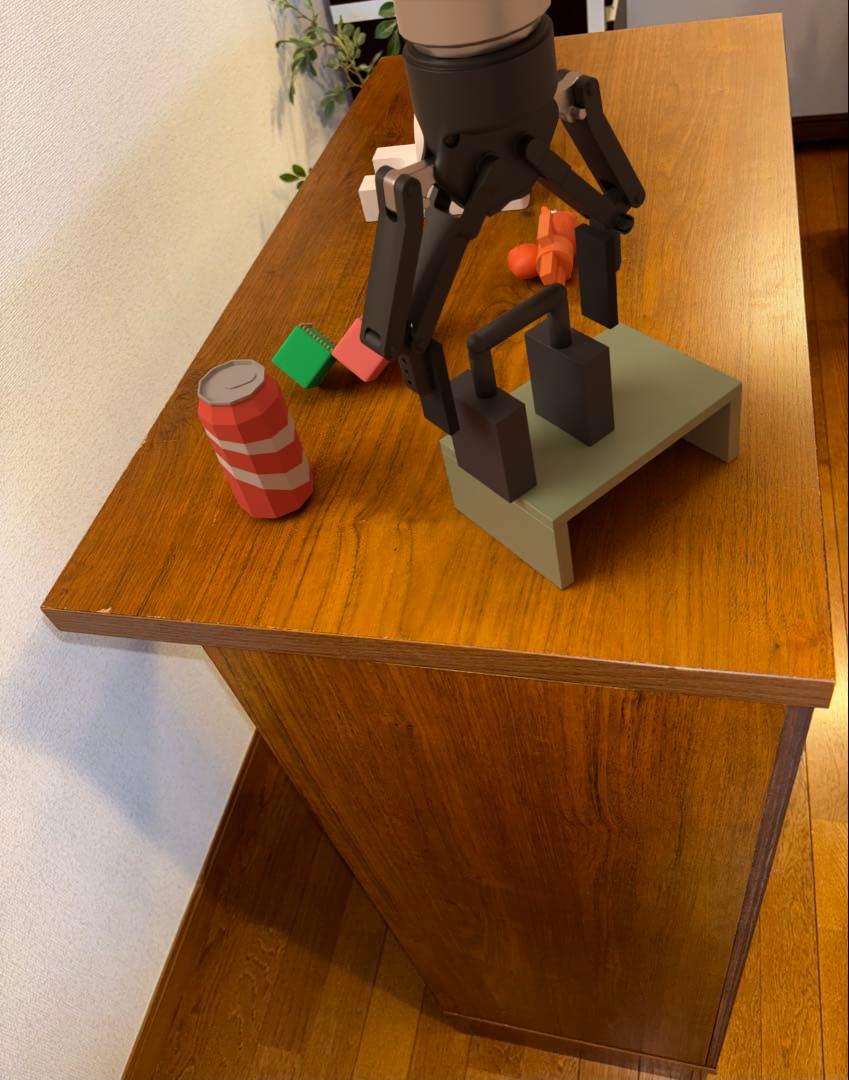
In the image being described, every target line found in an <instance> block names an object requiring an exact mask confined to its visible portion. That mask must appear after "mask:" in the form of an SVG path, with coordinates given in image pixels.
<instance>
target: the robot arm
mask: <svg viewBox="0 0 849 1080" xmlns="http://www.w3.org/2000/svg"><path fill="white" fill-rule="evenodd" d="M392 3H393V4H392V5H393V9H394V13H395V14H394V15H395V19H396V22H397V29H398V33H399V34H400V36H402V38H404V39H405V44H404V45H403V47H402V50H401V51H402V60H403V65H404V70H405V75H406V80H407V86H408V90H409V95H410V100H411V105H412V110H413V115H414V114H415V116H416V119H417V121H418V124H419V126H420V128H421V131H422V134H423V138H424V146H423V153H422V157H421V161H419V162H417V163H414V164H412V165H409V166H407V167H404V168H402V169H399V170H398V169H395V168H392V167H390V166H388V165H384V166H382V167H380V168H379V169H378V170H377V172H376V174H374V175H375V186H376V193H377V201H378V208H379V215H378V221H376V222H377V223H376V228H375V233H374V234H375V235H374V241H373V247H372V255H371V260H370V267H369V272H368V279H367V286H366V292H365V298H364V305H363V310H362V316H363V317H362V323H361V330H360V341H361V343H362V344H364V345H365V346H367V347H368V348H369V349H371V350H372V351H374V352H375V353H377V354H378V355H380V356H381V357H383V358H384V359H386V360H387V361H390V362H394V361H396V360H397V361H398V365H399V368H400V373H401V375H402V381H403V383H404V385H405V386H406V387H407V388H408V389H409V390H411V391H412V392H414V393H415V394H417V395H418V397H419V400H420V405H421V410H422V413H423V416H424V418H425V419H426V420H427V421H428V422H430V423H431V424H432V425H434V426H436V427H437V428H439V429H440V430H441V431H443V432H444V433H445V434H446V435H450V436H452V435H454V434H455V433H457V432H458V431H459V430H460V426H459V422H458V417H457V412H456V408H455V403H454V398H453V393H452V389H451V384H450V380H451V379H450V375H449V371H448V365H447V360H446V356H445V352H444V347H443V344H442V343H441V342H439V341H438V340H437V339H435V338H433V335H434V332H435V330H436V328H437V325H438V322H439V320H440V317H441V314H442V312H443V310H444V307H445V304H446V302H447V299H448V297H449V294H450V291H451V288H452V286H453V283H454V282H455V281H454V280H455V278H456V276H457V273H458V270H459V269H460V266H461V263H462V261H463V257H464V255H465V254H466V253H465V252H466V250H467V247H468V244H469V243H470V241H472V240H475V239H477V238H478V235H479V234H480V232H481V229H482V227H483V224H484V222H485V220H486V217H489V218H491V217H494V216H495V215H497V214H498V213H500V212H502V211H501V210H502V209H503V208H504V207H505V206H506V205H508V204H509V203H510V202H511V201H514V200H518V199H522V198H524V197H525V196H527V195H529V194H530V195H531V194H532V193H533V187H534V186H535V185H536V183H538V184H540V185H541V186H542V187H544V188H545V189H546V190H548V191H549V192H550V193H552V194H553V195H554V196H555V197H557V198H558V199H560V200H561V201H562V202H564V203H565V204H566V205H567V206H568V207H569V208H571V209H573V210H574V211H575V212H576V213H578V214H579V215H580V216H581V217H583V218H584V219H585V220H587V221H588V222H589V224H588V223H585V222H582V223H581V224H580V225H579V226H577V227H575V228H574V229H575V241H576V253H575V254H576V263H577V277H578V288H579V289H578V290H579V300H580V312H581V316H583V317H585V318H587V319H588V320H591V321H593V322H595V323H597V324H598V325H599V326H602V327H604V328H606V329H610V330H611V329H612V328H614V327H615V326H617V325H618V324H619V322H620V321H619V305H618V285H617V272H618V271H620V269H621V265H622V248H621V247H622V243H621V235H623V236H626V235H628V234H630V233H631V231H633V228H634V226H635V217H634V216H633V215H632V214H630V213H628V212H629V211H630V210H631V209H632V208H633V209H640V207H641V206H643V204H644V202H645V200H646V190H645V187H644V186H643V184H642V182H641V181H640V179H639V177H638V175H637V173H636V171H635V169H634V168H633V165H632V164H631V161H630V160H629V157H628V156H627V154H626V152H625V151H624V148H623V147H622V145H621V143H620V141H619V139H618V137H617V136H616V133H615V132H614V130H613V128H612V126H611V123H610V122H609V120H608V119H607V117H606V114H605V113H604V107H603V100H602V96H601V95H602V94H601V87H600V82H599V79H597V78H596V77H594V76H591V75H587V74H585V73H580V72H577V71H574V70H572V69H571V70H570V69H567V68H564V67H563V68H559V69H558V66H557V53H556V42H555V31H554V21H553V20H552V18H551V16H549V15H548V14H547V13H546V12H547V11H548V9H549V7H550V6H551V5H552V0H392ZM559 120H560V122H561V123H562V125H563V127H564V129H565V130H566V132H567V134H568V136H569V138H570V139H571V140H572V142H573V144H574V146H575V147H576V149H577V151H578V153H579V154H580V157H581V158H582V160H583V161H584V163H585V164H586V166H587V168H588V170H589V172H590V173H591V175H592V176H593V178H594V180H595V182H596V184H597V185H598V186H599V189H600V190H601V192H602V193H601V192H600V191H598V190H597V189H596V188H595V187H594V186H592V185H591V183H589V182H587V180H585V179H584V178H583V177H582V176H580V175H579V174H578V173H577V172H576V171H574V170H573V169H572V168H573V167H572V166H571V165H570V164H569V163H568V162H567V161H565V160H564V159H563V158H562V157H561V156H560V155H559V154H557V153H556V152H555V151H554V150H552V149H551V148H550V146H551V144H552V141H553V138H554V135H555V132H556V130H557V126H558V123H559ZM432 185H433V189H432V192H431V194H430V197H429V198H427V193H428V190H429V189H430V187H431V186H432ZM452 201H453V202H454V203H455V204H456V205H458V206H459V207H460V208H462V209H464V211H463V213H462V214H460V216H458V215H456V214H455V215H453V214H451V213H450V211H449V208H450V205H451V202H452ZM424 210H425V212H424ZM424 216H425V217H424ZM424 224H425V225H424ZM618 321H619V322H618ZM411 323H412V326H413V327H412V326H411Z"/></svg>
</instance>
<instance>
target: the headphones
mask: <svg viewBox="0 0 849 1080" xmlns="http://www.w3.org/2000/svg"><path fill="white" fill-rule="evenodd" d="M545 315H546V318H545V319H543V320H542V321H540V322H539V323H538V324H536V325H534V326H532V327H531V328H530V329H528V330H526V331H525V332H523V336H524V343H525V351H526V359H527V365H528V372H529V380H531V387H532V394H533V401H534V408H535V413H536V414H537V415H539V416H540V417H542V418H544V419H545V420H547V421H548V422H550V423H552V424H553V425H555V426H557V427H558V428H560V429H561V430H563V431H565V432H566V433H568V434H569V435H571V436H573V437H574V438H576V439H577V440H579V441H581V442H582V443H584V444H585V445H587V446H589V447H591V446H592V445H594V444H595V443H596V442H598V441H599V440H601V439H602V438H604V437H605V436H606V435H608V434H609V433H611V432H612V431H613V430H615V426H614V410H613V395H612V380H611V365H610V350H609V347H608V346H606V345H604V344H602V343H600V342H599V341H597V340H595V339H593V338H594V337H591V336H589V335H587V334H585V333H583V332H581V331H579V330H577V329H575V328H573V327H572V326H571V316H570V307H569V299H568V290H567V287H566V285H565V286H564V285H562V284H561V283H552V284H550V285H549V284H547V285H546V286H545V287H544V288H542V289H540V290H539V291H537V292H535V293H534V294H532V295H531V296H529V297H527V298H526V299H524V300H522V301H521V302H519V303H518V304H516V305H515V306H513V307H512V308H510V309H509V310H507V311H505V312H504V313H502V314H501V315H499V316H497V317H495V318H494V319H492V320H491V321H489V322H488V323H486V324H484V325H483V326H482V327H479V328H478V329H477V330H475V331H473V332H472V333H471V334H469V335H468V337H467V338H466V342H465V346H466V349H467V356H468V362H469V367H470V368H467V369H465V370H464V371H462V372H461V373H459V374H458V375H456V376H455V377H452V379H450V384H451V389H452V393H453V398H454V403H455V408H456V412H457V417H458V422H459V426H460V430H459V431H458V432H457V433H455V434H454V435H452V436H451V437H452V441H453V446H454V450H455V455H456V459H457V463H458V466H459V467H460V468H462V469H463V470H465V471H466V472H467V473H469V474H470V475H471V476H473V477H474V478H476V479H477V480H478V481H480V482H481V483H483V484H484V485H485V486H487V487H488V488H489V489H491V490H492V491H494V492H495V493H496V494H498V495H499V496H500V497H502V498H503V499H505V500H506V501H507V502H509V503H510V504H511V503H512V502H514V501H515V500H516V499H518V498H519V497H521V496H522V495H523V494H525V493H526V492H528V491H529V490H530V489H532V488H533V487H535V486H536V485H537V480H536V474H535V467H534V460H533V453H532V447H531V440H530V433H529V427H528V420H527V413H526V406H525V403H523V402H521V401H520V400H518V399H517V398H515V397H513V396H512V395H510V393H509V392H507V391H506V390H504V389H502V388H500V387H499V386H498V385H497V378H496V374H495V373H496V372H495V368H494V361H493V357H492V349H493V348H495V347H497V346H498V345H500V344H501V343H503V342H504V341H507V340H508V339H509V338H511V337H512V336H514V335H515V334H517V333H519V332H520V331H522V330H523V329H525V328H527V327H528V326H530V325H531V324H533V323H534V322H536V321H537V320H539V319H541V318H542V317H544V316H545Z"/></svg>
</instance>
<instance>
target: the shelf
mask: <svg viewBox="0 0 849 1080" xmlns="http://www.w3.org/2000/svg"><path fill="white" fill-rule="evenodd" d="M618 322H619V324H618V325H617V326H615V327H614V328H612V329H611V330H610V329H608V328H606V329H604V330H603V331H601V332H600V333H598V334H597V335H596V336H595V335H594V336H593V337H592V338H593V339H595V340H597V341H599V342H600V343H602V344H604V345H606V346H608V347H609V350H610V365H611V380H612V395H613V410H614V426H615V430H613V431H612V432H611V433H609V434H608V435H606V436H605V437H604V438H602V439H601V440H599V441H598V442H596V443H595V444H594V445H592V446H591V447H589V446H587V445H585V444H584V443H582V442H581V441H579V440H577V439H576V438H574V437H573V436H571V435H569V434H568V433H566V432H565V431H563V430H561V429H560V428H558V427H557V426H555V425H553V424H552V423H550V422H548V421H547V420H545V419H544V418H542V417H540V416H539V415H537V414H536V413H535V408H534V401H533V394H532V387H531V380H530V379H529V380H528V381H526V382H525V383H523V384H522V385H520V386H518V387H517V388H516V389H514V390H513V391H511V392H510V393H509V394H510V395H512V396H513V397H515V398H517V399H518V400H520V401H521V402H523V403H525V406H526V413H527V420H528V427H529V433H530V440H531V447H532V453H533V460H534V467H535V474H536V480H537V485H536V486H535V487H533V488H532V489H530V490H529V491H528V492H526V493H525V494H523V495H522V496H521V497H519V498H518V499H516V500H515V501H514V502H512V503H511V504H510V503H509V502H507V501H506V500H505V499H503V498H502V497H500V496H499V495H498V494H496V493H495V492H494V491H492V490H491V489H489V488H488V487H487V486H485V485H484V484H483V483H481V482H480V481H478V480H477V479H476V478H474V477H473V476H471V475H470V474H469V473H467V472H466V471H465V470H463V469H462V468H460V467H459V466H458V463H457V459H456V455H455V450H454V446H453V441H452V437H451V436H450V435H448V434H446V435H445V436H443V437H442V438H440V439H439V446H440V449H441V454H442V458H443V459H442V460H443V463H444V466H445V472H446V475H447V480H448V483H449V487H450V492H451V496H452V497H451V498H452V500H453V505H454V508H455V509H456V510H457V511H458V512H460V513H461V514H462V515H463V516H465V517H466V518H467V519H469V520H470V521H471V522H473V523H474V524H475V525H477V526H478V527H479V528H480V529H482V530H483V531H484V532H486V533H487V534H488V535H490V536H491V537H492V538H493V539H495V540H496V541H497V542H499V543H500V544H501V545H503V546H504V547H505V548H506V549H508V550H509V552H512V553H513V554H514V555H516V556H517V557H518V558H519V559H521V560H522V561H523V562H525V563H526V564H527V565H529V566H530V567H531V568H533V569H534V571H536V572H538V574H540V575H541V576H543V578H545V579H546V580H548V581H549V582H550V583H551V584H553V585H554V586H556V587H557V588H558V589H560V591H563V590H564V589H566V588H567V587H569V586H570V585H571V584H573V583H574V582H575V575H574V567H573V559H572V550H571V542H570V534H569V526H568V521H570V520H571V519H572V518H574V517H575V516H577V515H578V514H580V513H581V512H582V511H583V510H585V509H587V508H588V507H589V506H590V505H592V504H593V503H594V502H596V501H597V500H598V499H600V498H601V497H603V496H604V495H605V494H607V493H608V492H609V491H611V490H612V489H614V488H615V487H616V486H618V485H619V484H620V483H622V482H623V481H624V480H626V479H627V478H629V477H630V476H631V475H632V474H634V473H635V472H637V471H638V470H639V469H641V468H642V467H643V466H645V465H646V464H647V463H649V462H650V461H652V460H653V459H655V457H657V456H658V455H659V454H661V453H662V452H664V451H665V450H666V449H668V448H669V447H671V446H672V445H673V444H675V443H676V442H677V441H680V439H681V438H682V439H683V440H685V441H687V442H688V443H690V444H692V445H694V446H696V447H697V448H699V449H701V450H703V451H705V452H706V453H707V454H708V453H709V454H710V455H712V456H713V457H715V458H717V459H719V460H720V461H722V462H724V463H726V464H730V463H731V462H732V461H734V460H735V459H736V458H737V457H739V454H740V437H741V417H742V401H743V400H742V399H743V381H741V380H739V379H736V378H735V377H733V376H732V375H729V374H727V373H725V372H723V371H720V370H718V369H717V368H715V367H712V366H710V365H709V364H706V363H704V362H703V361H700V360H699V359H696V358H695V357H692V356H690V355H688V354H686V353H684V352H682V351H680V350H679V349H676V348H674V347H673V346H670V345H668V344H666V343H665V342H662V341H660V340H658V339H656V338H653V337H652V336H650V335H648V334H646V333H644V332H642V331H640V330H638V329H636V328H634V327H632V326H630V325H628V324H625V323H623V322H622V321H620V320H618Z"/></svg>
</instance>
